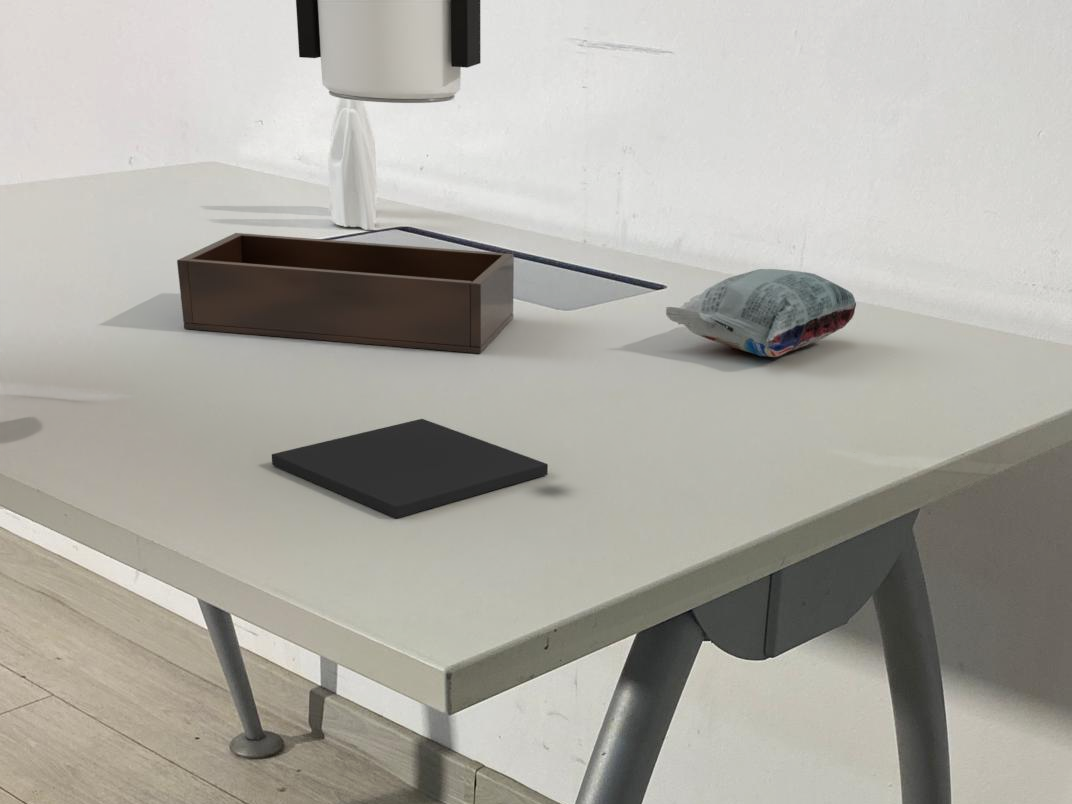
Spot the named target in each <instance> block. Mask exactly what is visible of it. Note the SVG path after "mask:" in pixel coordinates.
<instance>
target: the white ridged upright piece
mask: <svg viewBox="0 0 1072 804" xmlns="http://www.w3.org/2000/svg"><path fill="white" fill-rule="evenodd" d="M374 135H375V134H374V131H373V128H372V125H371V122H370V119H369V114H368V111H367V107H366V104H365V101H359V100H350V99H344V98H338V100H337V104H336V107H335V110H334V115H333V121H332V126H331V132H330V145H329V152H328V157H327V168H328V170H327V173H328V187H329V188H328V189H329V190H328V192H329V194H328V195H329V207H330V221H332V222H333V223H334V224H335V225H337V226H342V227H344V228H346V227H350V228H351V227H352V228H356V227H359V228H361V229H363V230H365V231H372V230H373V231H375V230H377V228H376V225H375V224H376V223H377V204H378V199H379V195H378V179H377V177H378V176H377V175H378V174H377V157H376V141H375V136H374Z"/></svg>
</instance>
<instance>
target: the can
mask: <svg viewBox="0 0 1072 804" xmlns="http://www.w3.org/2000/svg"><path fill="white" fill-rule="evenodd" d="M318 17H319V35H320V53H321V57H320V66H321V67H320V68H321V69H320V70H321V80H322V81H321V82H322V85H323V87H325V89H327V90H328V94H329V95H330V96H332V97H334V98H338V99H339V98H344V99H350V100H359V101H364V102H373V103H391V104H427V103H428V104H429V103H443V102H450V101H452V100H454V99H455V98H456V97H455V96H456V94H457V93H458V92H460V90H461V75H462V74H461V73H462V72H461V71H462V70H461V68H462V67H451V0H318Z"/></svg>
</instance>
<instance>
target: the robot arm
mask: <svg viewBox="0 0 1072 804" xmlns="http://www.w3.org/2000/svg"><path fill="white" fill-rule="evenodd" d="M295 9H296V25H297V41H298V42H297V43H298V57H299V58H304V59H305V58H306V59H319V58H321V53H320V35H319V17H318V0H295ZM480 64H481V0H451V67H461V68H471V67H473V66H477V65H480Z"/></svg>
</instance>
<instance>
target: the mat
mask: <svg viewBox="0 0 1072 804" xmlns="http://www.w3.org/2000/svg"><path fill="white" fill-rule="evenodd" d="M271 465H272V466H274V467H275V468H278V469H280V470H283V471H285V472H288V473H290V474H292V475H294V476H296V477H299V478H302V479H304V480H306V481H309V482H311V483H313V484H315V485H318V486H320V487H323V488H325V489H328V490H330V491H332V492H334V493H337V494H338V495H341V496H344V497H346V498H348V499H350V500H352V501H355V502H357V503H360V504H362V505H365V506H366V507H369V508H372V509H374V510H376V511H378V512H381V513H383V514H385V515H388V516H390V517H392V518H394V519H400V518H402V517H406V516H411V515H413V514H416V513H419V512H424V511H426V510H427V511H428V510H430V509H434V508H437V507H440V506H444V505H448V504H450V503H454V502H459V501H461V500H462V501H463V500H466V499H469V498H471V497H472V498H473V497H475V496H478V495H482V494H485V493H490V492H492V491H496V490H499V489H503V488H505V487H509V486H514V485H516V484H520V483H523V482H527V481H531V480H534V479H537V478H541V477H544V476H547V475H548V471H549V470H548V469H549V465H548V463H546V462H544V461H541V460H538V459H534V458H532V457H530V456H527V455H524V454H522V453H520V452H519V453H518V452H515V451H513V450H510V449H507V448H505V447H502V446H499V445H496V444H494V443H491V442H488V441H485V440H483V439H479V438H477V437H474V436H472V435H468V434H466V433H463V432H460V431H458V430H454V429H452V428H449V427H447V426H444V425H441V424H438V423H436V422H432V421H429V420H427V419H424V418H420V419H416V420H411V421H405V422H402V423H398V424H393V425H390V426H385V427H381V428H377V429H372V430H368V431H363V432H359V433H356V434H355V433H354V434H351V435H347V436H343V437H337V438H334V439H330V440H325V441H321V442H317V443H314V444H308V445H305V446H300V447H297V448H292V449H287V450H284V451H280V452H274V453H271Z"/></svg>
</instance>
